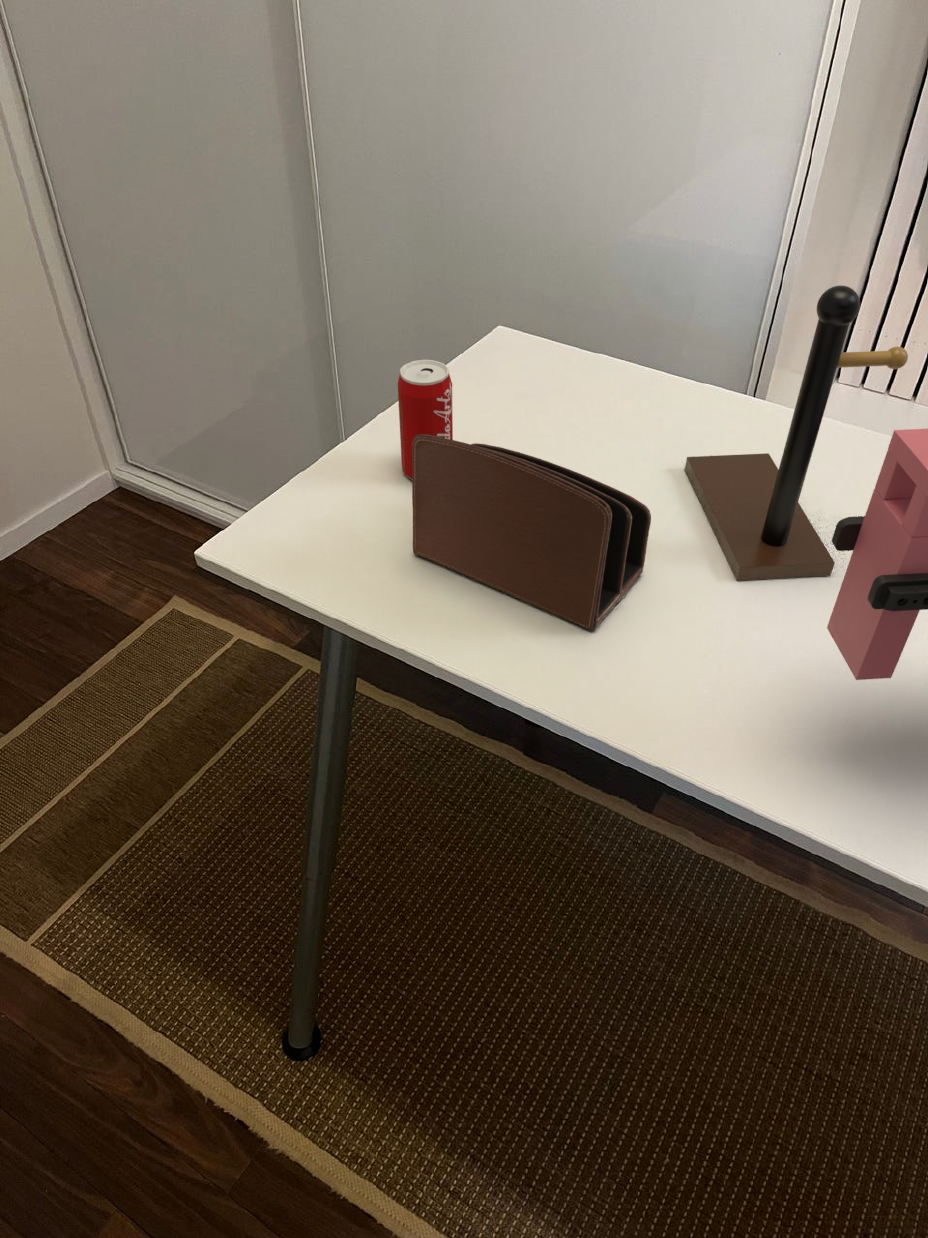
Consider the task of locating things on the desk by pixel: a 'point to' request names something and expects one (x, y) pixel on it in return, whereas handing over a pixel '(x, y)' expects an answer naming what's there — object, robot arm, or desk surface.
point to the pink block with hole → (885, 560)
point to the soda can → (423, 405)
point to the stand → (783, 465)
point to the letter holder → (527, 527)
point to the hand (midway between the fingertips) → (855, 563)
